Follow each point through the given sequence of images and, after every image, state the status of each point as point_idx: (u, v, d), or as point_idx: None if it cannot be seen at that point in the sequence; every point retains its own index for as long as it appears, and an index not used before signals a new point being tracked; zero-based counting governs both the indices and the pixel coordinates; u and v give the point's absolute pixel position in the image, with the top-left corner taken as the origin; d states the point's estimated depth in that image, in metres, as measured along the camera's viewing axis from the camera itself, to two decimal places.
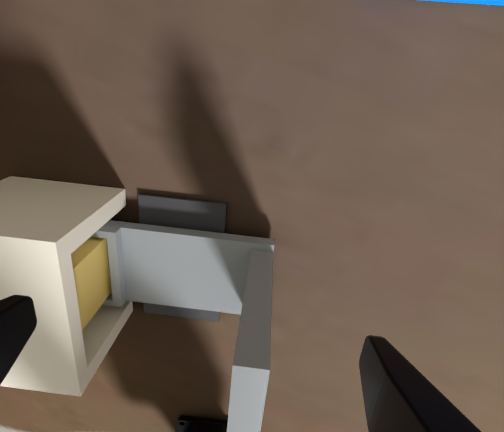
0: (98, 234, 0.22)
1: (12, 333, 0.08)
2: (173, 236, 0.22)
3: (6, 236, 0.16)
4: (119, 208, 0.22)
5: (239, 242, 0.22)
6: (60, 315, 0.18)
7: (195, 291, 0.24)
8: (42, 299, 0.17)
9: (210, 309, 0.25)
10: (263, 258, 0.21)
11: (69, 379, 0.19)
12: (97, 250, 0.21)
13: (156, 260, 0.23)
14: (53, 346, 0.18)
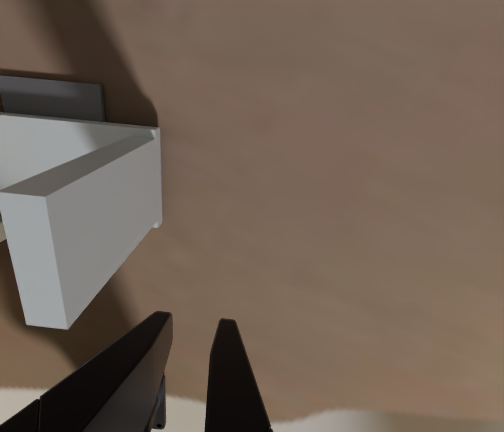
0: None
1: (162, 351, 0.08)
2: (37, 122, 0.19)
3: None
4: None
5: (113, 127, 0.19)
6: None
7: None
8: None
9: None
10: (137, 141, 0.18)
11: None
12: None
13: (22, 155, 0.20)
14: None
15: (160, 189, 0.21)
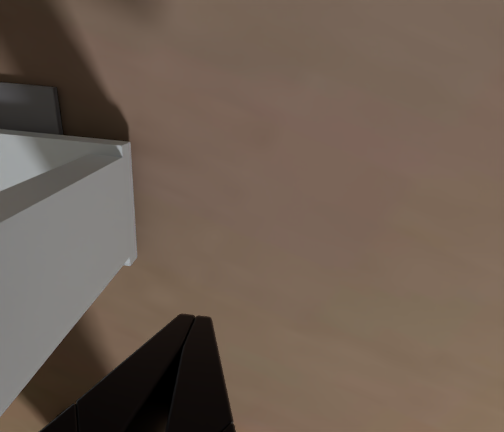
0: None
1: None
2: None
3: None
4: None
5: (69, 142, 0.14)
6: None
7: None
8: None
9: None
10: (97, 161, 0.14)
11: None
12: None
13: None
14: None
15: (133, 218, 0.16)
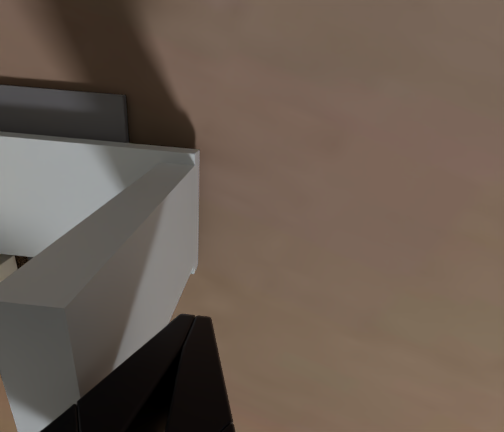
0: None
1: None
2: (42, 145, 0.15)
3: None
4: None
5: (141, 150, 0.14)
6: None
7: None
8: None
9: None
10: (174, 170, 0.14)
11: None
12: None
13: (23, 186, 0.15)
14: None
15: (197, 226, 0.16)
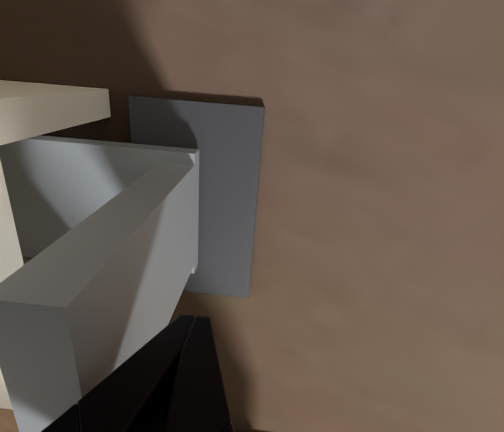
0: None
1: None
2: (42, 145, 0.15)
3: None
4: (99, 115, 0.14)
5: (141, 150, 0.14)
6: None
7: None
8: None
9: None
10: (174, 169, 0.14)
11: None
12: None
13: (23, 186, 0.15)
14: None
15: (197, 225, 0.16)
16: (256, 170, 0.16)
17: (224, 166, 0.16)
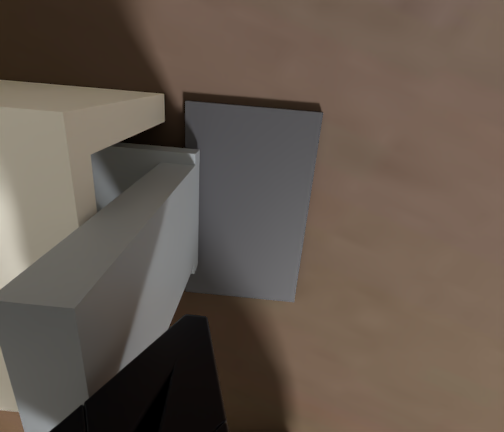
0: None
1: None
2: None
3: None
4: (157, 120, 0.14)
5: (141, 150, 0.14)
6: None
7: None
8: (37, 242, 0.09)
9: None
10: (174, 170, 0.14)
11: None
12: None
13: None
14: None
15: (197, 226, 0.16)
16: (310, 175, 0.16)
17: (278, 171, 0.16)
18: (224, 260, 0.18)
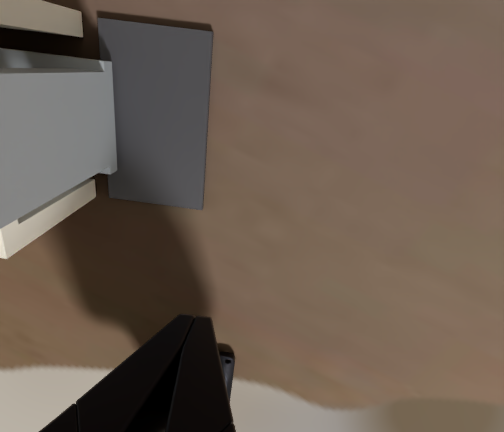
0: None
1: None
2: None
3: None
4: (72, 31, 0.17)
5: (59, 57, 0.17)
6: None
7: None
8: None
9: None
10: (82, 70, 0.16)
11: None
12: None
13: None
14: None
15: (113, 132, 0.19)
16: (206, 89, 0.18)
17: (179, 85, 0.18)
18: (140, 168, 0.20)
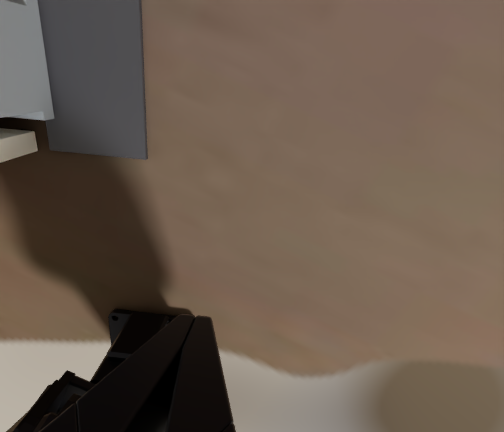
0: None
1: None
2: None
3: None
4: None
5: None
6: None
7: None
8: None
9: None
10: None
11: None
12: None
13: None
14: None
15: (46, 76, 0.19)
16: (137, 25, 0.18)
17: (109, 21, 0.18)
18: (78, 115, 0.20)
